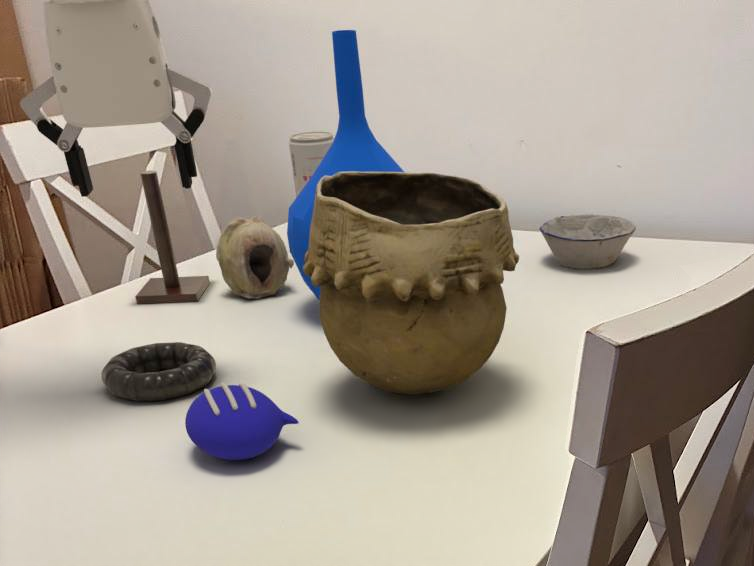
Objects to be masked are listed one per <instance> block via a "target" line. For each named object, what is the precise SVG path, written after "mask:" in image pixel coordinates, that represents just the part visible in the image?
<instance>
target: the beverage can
mask: <svg viewBox="0 0 754 566" xmlns="http://www.w3.org/2000/svg"><path fill="white" fill-rule="evenodd" d="M334 138H335V137H334V133H333V132H330V131H323V130H322V131H321V130H320V131H319V130H318V131H313V130H312V131H303V132H297V133H293V134H290V135H289V142H288V144H289V154H290V160H291V168H292V176H293V183H294V191H295V198H296V197H297V196H298V195H299V193H300V192H301V191H302V189H303V188H304V186H305V185H306V184H307V182H308V181H309V180H310V178H311V177H312V175H313V174H314V172H315V171H316V169H317V167H318V166H319V164H320V163H321V161H322V159H323V158H324V156H325V155H326V153H327V151H328V150H329V148H330V147H331V145H332V143H333V141H334Z"/></svg>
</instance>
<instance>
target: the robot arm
mask: <svg viewBox="0 0 754 566" xmlns="http://www.w3.org/2000/svg"><path fill="white" fill-rule="evenodd" d="M43 16H44V26H45V27H44V28H45V35H46V42H47V47H48V48H47V49H48V55H49V60H50V61H49V62H50V67H51V72H52V76H51V77H50V78H48V79H47V80H45V81H44V82H43V83H41V84H40V85H39V86H37V87H36V88H35V89H33V90H32V91H31V92H30V93H28V94H27V95H26V96H24V97H23V98H21V100H20V101H19V106H20V108H21V109H22V111H23V112H24V113H25V114H26V116H27V117H28V118H29V120H30V121H31V122H32V124H34V125H35V128H37V131H38V132H39V134H41V135H43V137H45V138H46V139H48V140H49V141H51V143H53V144H54V145H55V146H57V148H58V150H60V151H61V152H63V154H64V158H65V161H66V166H67V169H68V174H69V178H70V181H71V184H72V186H73V187H78V189H79V193H80V196H81V197H82V198H85V197H88V196H89V195H91V193H92V191H93V190H94V186H93V182H92V177H91V173H90V169H89V166H88V162H87V161H88V160H87V157H86V154H85V150H84V147H82V145H80V144H79V141H78V139H79V137H80V135H81V133H82V131H83V129H84V128H85V129H89V128H90V129H91V128H104V127H106V128H107V127H120V126H133V125H134V126H135V125H148V124H156V123H161V124H162V125H163V126H164V127H165V128H166V129H168V131H169V132H170V133H171V134H172V135H174V137H175V143H174V152H175V157H176V161H177V167H178V171H179V172H178V173H179V176H180V181H181V187H182V188H184V189H186V190H187V189H192V185H193V179H192V178H197V177H198V171H197V165H196V160H195V159H196V158H195V155H194V150H193V149H194V148H193V145H192V138H193V137H194V135H195V134H196V133H197V131H198V130H199V128H200V127H201V126H202V124H203V122H204V120H205V118H206V115H207V111H208V107H209V104H210V100H211V96H212V93H213V92H212V88H211V86H210V85H208V84H206V83H204V82H202V81H199V80H197V79H195V78H193V77H191V76H188V75H186V74H184V73H183V72H180V71H179V70H176V69H173V68H172V67H169V62H168V58H167V54H166V50H165V47H164V43H163V40H162V36H161V32H160V29H159V25H158V21H157V19H156V16H155V12H154V10H153V7H152V5H151V2H150V0H49V1H44V2H43ZM174 88H176V89H178V90H180V91H182V92H184V93H187V94H188V95H190V96H192V98H193V100H194V101H193V102H194V103H193V106H192V109H191V112H190V113H189V115H188V116H187V118H186V119H184V118H183V117H181V116H180V115H179V114H178V113H177V112H176V111H175V109H176V106H177V104H176V103H177V102H176V101H177V100H176V95H175V90H174ZM55 95H56V96H57V101H58V105H59V108H60V111H61V114H62V117H63V119H64V121H65V122H66V123H65V124H64V127H63V128H62V127H61V126H60V125H58V124H57V123H56V122H55V121H53V120H52V119H51V118H49V117H48V115H47V114H46V112H45V111H44V109H43V105H44V103H46V102H48V101H49V100H50V99H51V98H53V96H55Z"/></svg>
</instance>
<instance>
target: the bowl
mask: <svg viewBox="0 0 754 566" xmlns="http://www.w3.org/2000/svg"><path fill="white" fill-rule="evenodd" d="M636 227H637V226H636V224H635V223H634V222H632V221H631V220H629V219H626V218H622V217H619V216H614V215H603V214H602V215H601V214H600V215H599V214H593V213H588V214H587V213H586V214H578V215H577V214H576V215H572V214H570V215H565V216H564V215H561V216H555V217H554V218H552V219H550V220H548V221H546V222H544V223H543V224H541V225H540V227H539V231H540V232H541V234H542V236H543V238H544V240H545V242H546V244H547V245H548V247H549V249H550V251H551V253H552V255H553V256H554V258H555V260H556V261H557V263H558V264H559V265H560V266H563V267H566V268H570V269H576V270H577V269H579V270H590V269H591V270H592V269H599V268H605V267H609V266H611V265H613V264H614V263H615V262H616V260H617V259H618V257H619V256H620V254H621V252H622V251H623V249H624V248H625V246H626V244H627V243H628V241H629V240H630V238H631V237H632V236H633V234H634V232H635V231H636Z"/></svg>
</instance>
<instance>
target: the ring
mask: <svg viewBox="0 0 754 566" xmlns="http://www.w3.org/2000/svg"><path fill="white" fill-rule="evenodd" d="M216 369H217V363H216V360H215V358H214V357H213V355H211V353H209V351H207V350H206V349H205V348H204V347H202V346H200V345H197V344H193V343H186V342H179V341H174V342H173V341H172V342H155V343H150V344H145V345H141V346H136V347H132V348H129V349H127V350H125V351H122V352H120V353H118V354H116V355H114V356H112V357H111V358H110V359H109V360H108V362H106V364H105V365H104V367H103V369H102V371H101V375H100V376H101V381H102V383H103V384H104V386H105V387H106V388H107V389H108V390H109V392H110V393H111V394H112V395H113V396H115V397H118V398H122V399H126V400H131V401H134V402H150V401H153V402H154V401H166V400H170V399H174V398H178V397H182V396H186V395H190V394H191V393H194V392H195V391H197V390H199V389H201V388H203V387H204V386H207V385H208V384H209V383H210V381H211V380H212V378H213V376H214V374H215V372H216V371H217V370H216ZM160 370H161V371H160Z"/></svg>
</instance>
